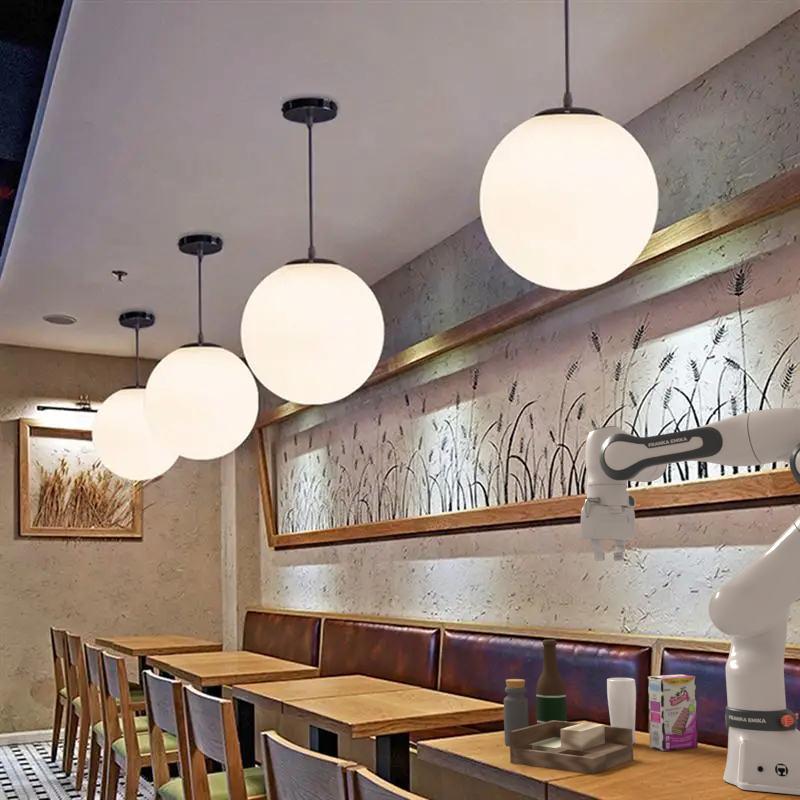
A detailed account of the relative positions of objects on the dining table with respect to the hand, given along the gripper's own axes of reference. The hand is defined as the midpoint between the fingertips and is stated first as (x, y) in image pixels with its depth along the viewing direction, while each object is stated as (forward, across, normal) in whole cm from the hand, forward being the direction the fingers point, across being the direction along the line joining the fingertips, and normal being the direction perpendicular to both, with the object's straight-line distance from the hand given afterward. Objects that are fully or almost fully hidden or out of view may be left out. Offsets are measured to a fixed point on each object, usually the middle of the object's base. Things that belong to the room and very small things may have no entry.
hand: (609, 560), depth 220 cm
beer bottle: (+44, +16, +25) cm, 53 cm away
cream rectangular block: (+40, -1, +8) cm, 41 cm away
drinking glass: (+44, +22, +9) cm, 50 cm away
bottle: (+44, +6, +29) cm, 53 cm away
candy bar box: (+44, +24, -3) cm, 50 cm away
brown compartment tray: (+43, -3, +9) cm, 44 cm away
